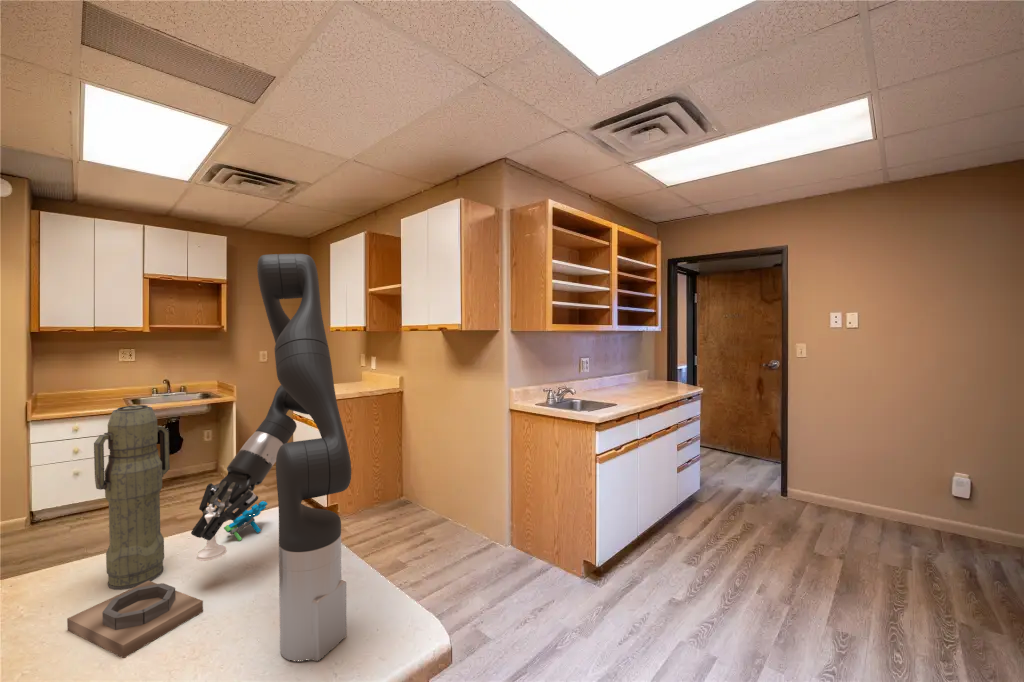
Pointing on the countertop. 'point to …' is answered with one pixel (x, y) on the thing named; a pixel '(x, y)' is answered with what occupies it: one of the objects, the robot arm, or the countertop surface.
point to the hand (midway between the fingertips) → (200, 536)
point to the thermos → (133, 494)
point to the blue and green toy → (246, 520)
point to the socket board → (134, 633)
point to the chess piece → (211, 543)
